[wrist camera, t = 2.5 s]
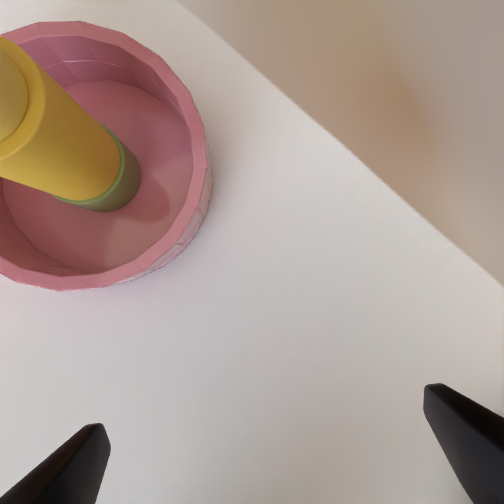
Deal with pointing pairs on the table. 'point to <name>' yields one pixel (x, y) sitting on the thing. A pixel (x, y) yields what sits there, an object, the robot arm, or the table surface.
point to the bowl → (136, 140)
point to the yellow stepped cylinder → (58, 140)
